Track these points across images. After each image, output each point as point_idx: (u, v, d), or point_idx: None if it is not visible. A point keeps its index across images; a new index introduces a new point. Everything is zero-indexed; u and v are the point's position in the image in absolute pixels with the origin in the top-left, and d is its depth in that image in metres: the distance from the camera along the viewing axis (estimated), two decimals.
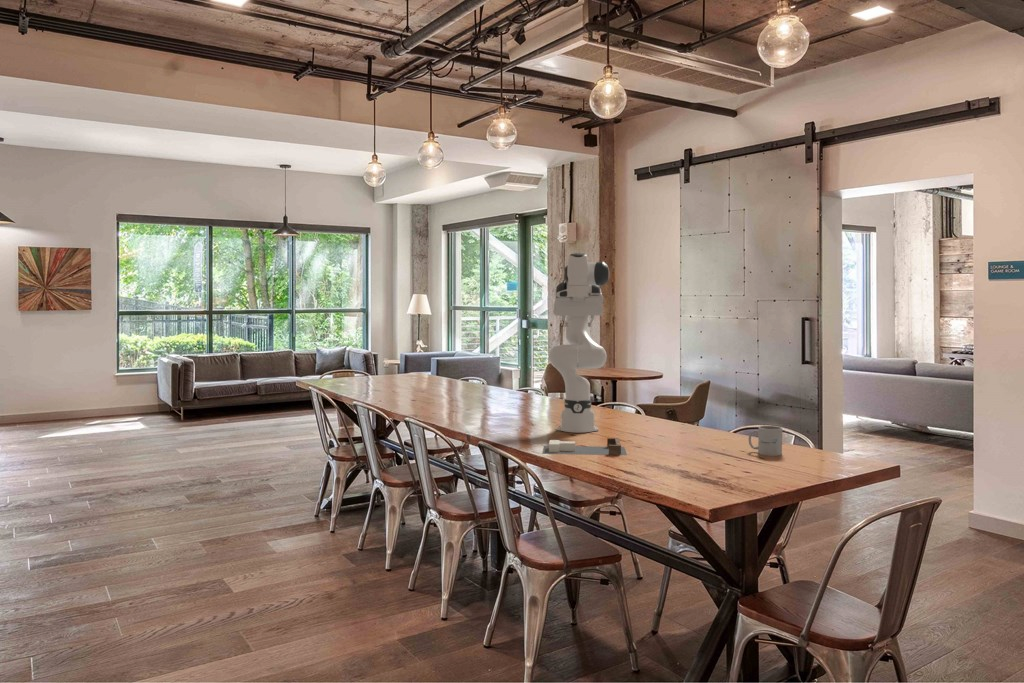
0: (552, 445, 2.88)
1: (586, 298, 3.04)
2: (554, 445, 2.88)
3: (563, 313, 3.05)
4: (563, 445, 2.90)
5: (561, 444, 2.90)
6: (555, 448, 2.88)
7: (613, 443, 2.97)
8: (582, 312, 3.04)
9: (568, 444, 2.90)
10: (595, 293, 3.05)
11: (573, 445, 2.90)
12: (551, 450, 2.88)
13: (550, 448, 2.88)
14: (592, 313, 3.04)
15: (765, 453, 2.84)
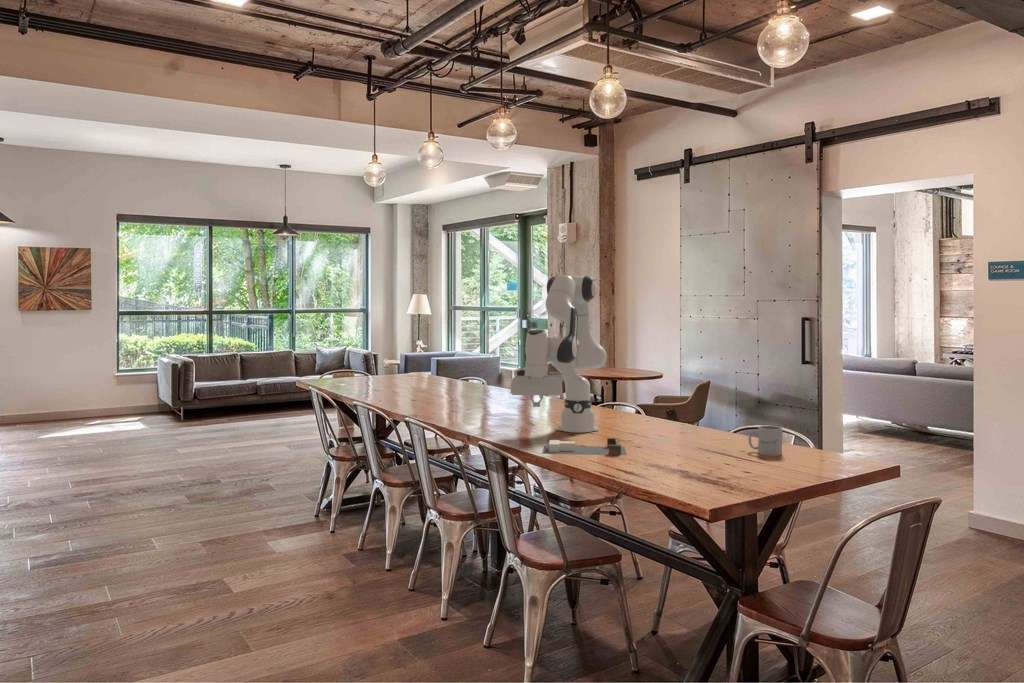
0: (552, 445, 2.88)
1: (545, 377, 2.90)
2: (554, 445, 2.88)
3: (521, 393, 2.91)
4: (563, 445, 2.90)
5: (561, 444, 2.90)
6: (555, 448, 2.88)
7: (613, 443, 2.97)
8: (540, 392, 2.90)
9: (568, 444, 2.90)
10: (554, 372, 2.91)
11: (573, 445, 2.90)
12: (551, 450, 2.88)
13: (550, 448, 2.88)
14: (551, 393, 2.90)
15: (765, 453, 2.84)
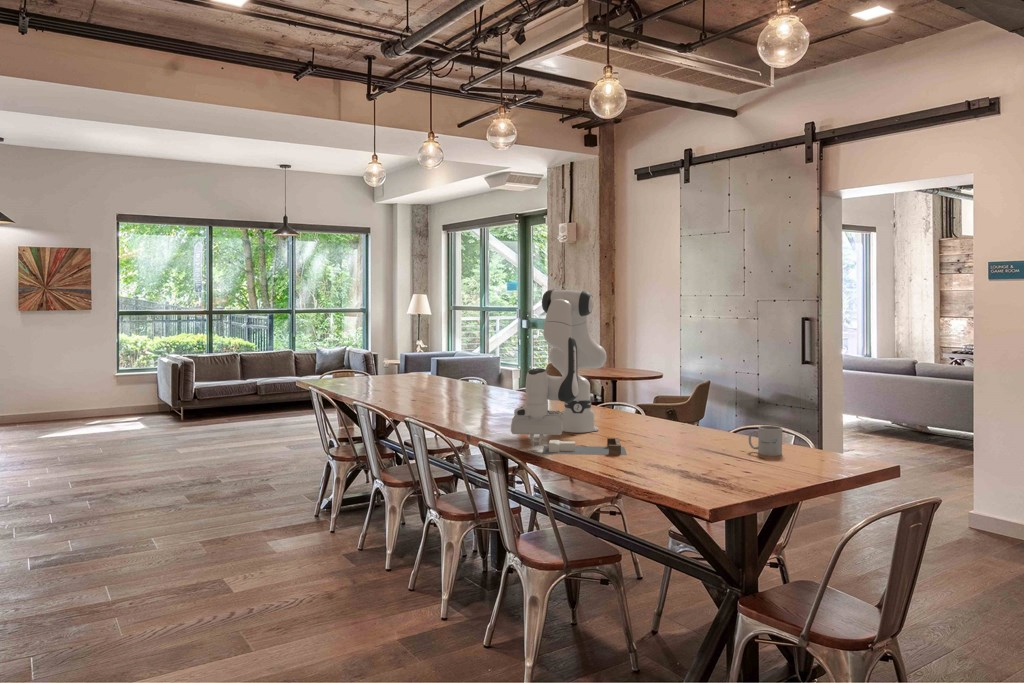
0: (552, 445, 2.88)
1: (545, 417, 2.90)
2: (554, 445, 2.88)
3: (521, 432, 2.91)
4: (563, 445, 2.90)
5: (561, 444, 2.90)
6: (555, 448, 2.88)
7: (613, 443, 2.97)
8: (541, 431, 2.91)
9: (568, 444, 2.90)
10: (554, 411, 2.91)
11: (573, 445, 2.90)
12: (551, 450, 2.88)
13: (550, 448, 2.88)
14: (551, 432, 2.90)
15: (765, 453, 2.84)
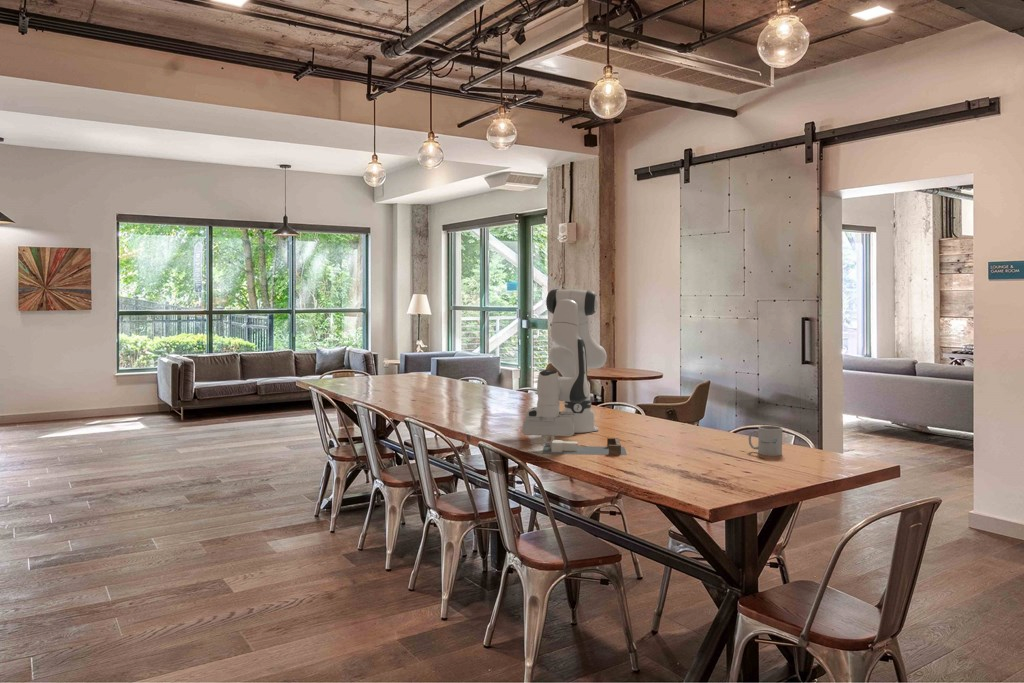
0: (555, 445, 2.88)
1: (556, 418, 2.90)
2: (557, 445, 2.88)
3: (532, 433, 2.91)
4: (566, 445, 2.90)
5: (564, 444, 2.90)
6: (558, 448, 2.88)
7: (613, 443, 2.97)
8: (552, 432, 2.90)
9: (571, 444, 2.90)
10: (566, 412, 2.91)
11: (576, 445, 2.90)
12: (554, 450, 2.88)
13: (553, 448, 2.88)
14: (563, 433, 2.90)
15: (765, 453, 2.84)
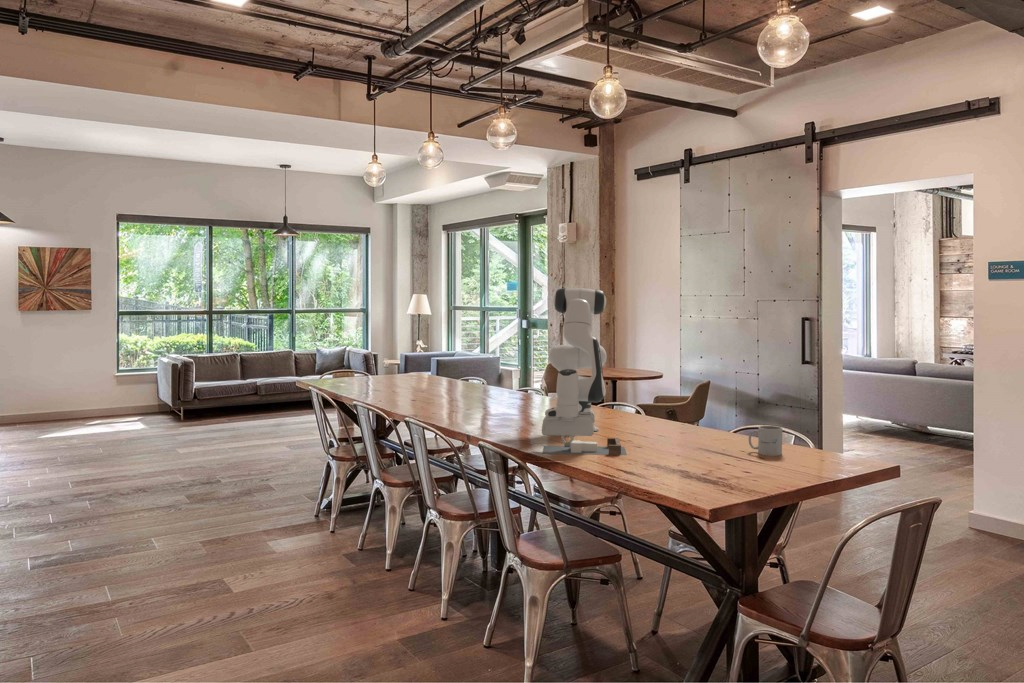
0: (574, 445, 2.87)
1: (576, 418, 2.89)
2: (576, 445, 2.87)
3: (552, 433, 2.90)
4: (585, 445, 2.89)
5: (583, 444, 2.89)
6: (577, 448, 2.87)
7: (613, 443, 2.97)
8: (572, 432, 2.90)
9: (590, 444, 2.89)
10: (585, 412, 2.90)
11: (595, 445, 2.89)
12: (573, 450, 2.87)
13: (572, 448, 2.87)
14: (582, 433, 2.89)
15: (765, 453, 2.84)
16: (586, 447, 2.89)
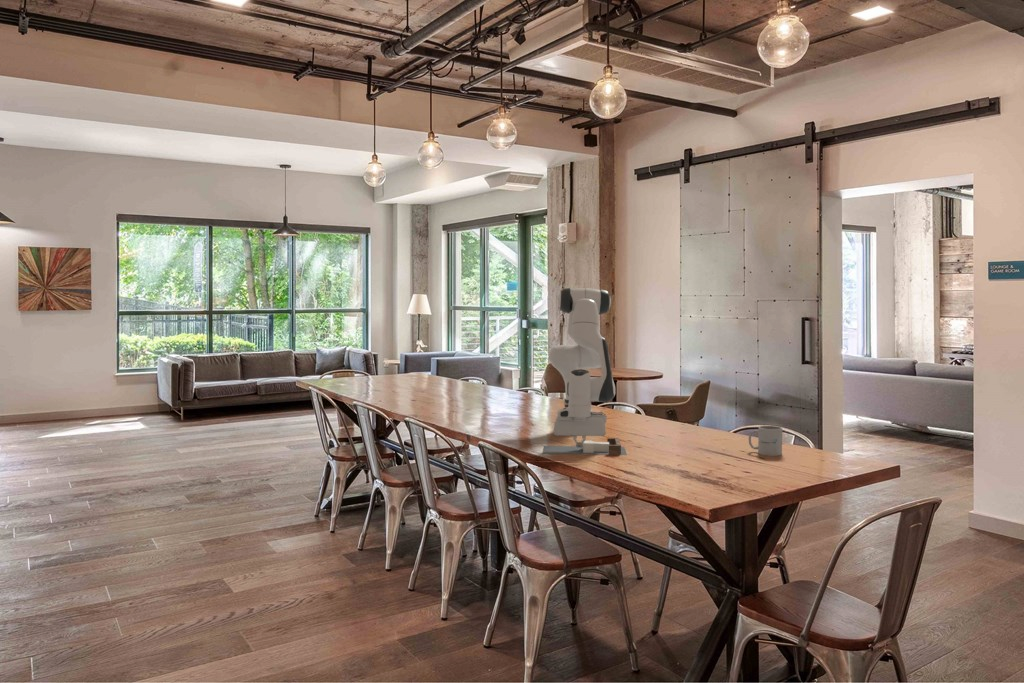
0: (586, 446, 2.87)
1: (588, 418, 2.89)
2: (588, 446, 2.87)
3: (564, 433, 2.90)
4: (597, 446, 2.89)
5: (595, 445, 2.89)
6: (589, 449, 2.87)
7: (613, 443, 2.97)
8: (584, 433, 2.89)
9: (602, 445, 2.89)
10: (598, 412, 2.90)
11: (607, 446, 2.88)
12: (585, 451, 2.87)
13: (584, 449, 2.87)
14: (595, 433, 2.89)
15: (765, 453, 2.84)
16: (598, 447, 2.89)
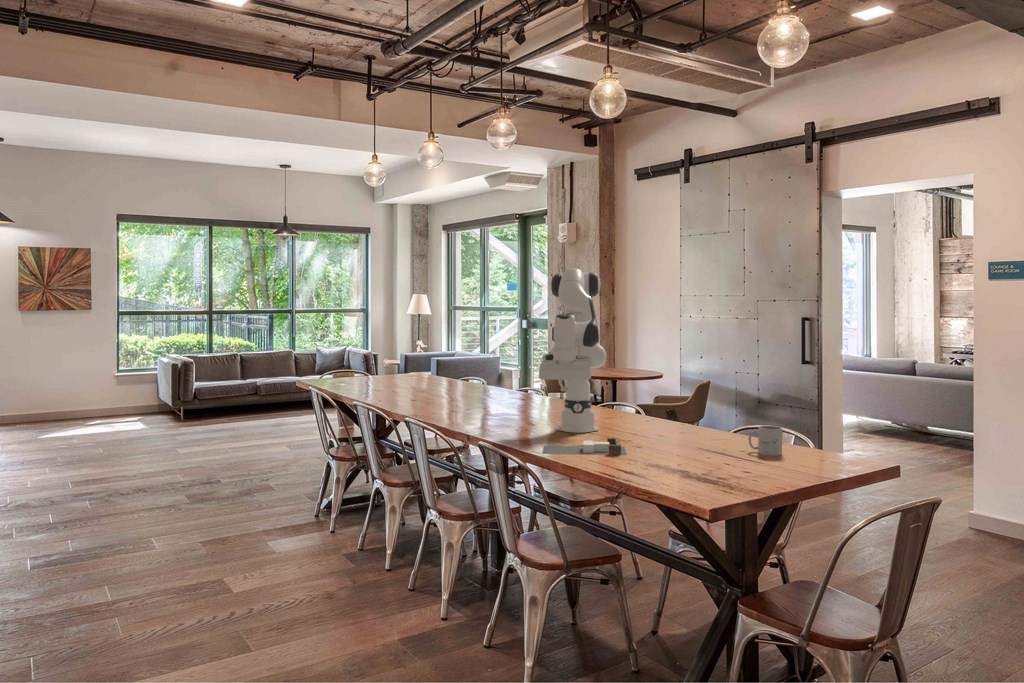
0: (586, 446, 2.87)
1: (573, 362, 2.88)
2: (588, 446, 2.87)
3: (549, 377, 2.89)
4: (597, 446, 2.89)
5: (595, 445, 2.89)
6: (589, 449, 2.87)
7: (613, 443, 2.97)
8: (569, 376, 2.89)
9: (602, 445, 2.89)
10: (583, 356, 2.89)
11: (607, 446, 2.88)
12: (585, 451, 2.87)
13: (584, 449, 2.87)
14: (580, 377, 2.88)
15: (765, 453, 2.84)
16: (598, 447, 2.89)
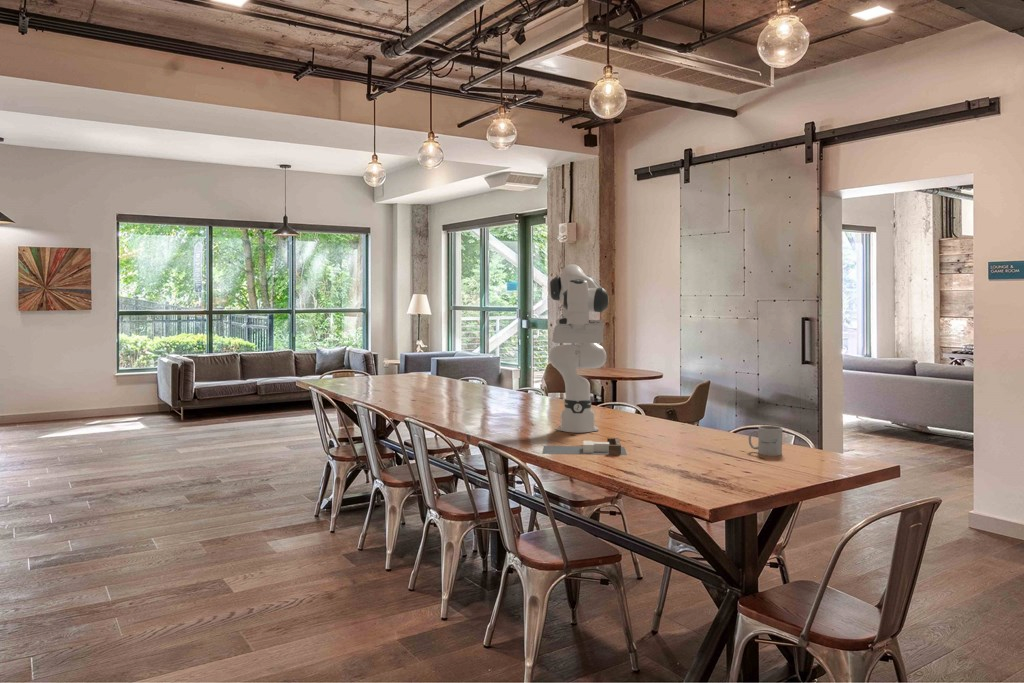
0: (586, 446, 2.87)
1: (586, 325, 2.97)
2: (588, 446, 2.87)
3: (563, 341, 2.98)
4: (597, 446, 2.89)
5: (595, 445, 2.89)
6: (589, 449, 2.87)
7: (613, 443, 2.97)
8: (582, 340, 2.98)
9: (602, 445, 2.89)
10: (595, 320, 2.98)
11: (607, 446, 2.88)
12: (585, 451, 2.87)
13: (584, 449, 2.87)
14: (593, 340, 2.97)
15: (765, 453, 2.84)
16: (598, 447, 2.89)
